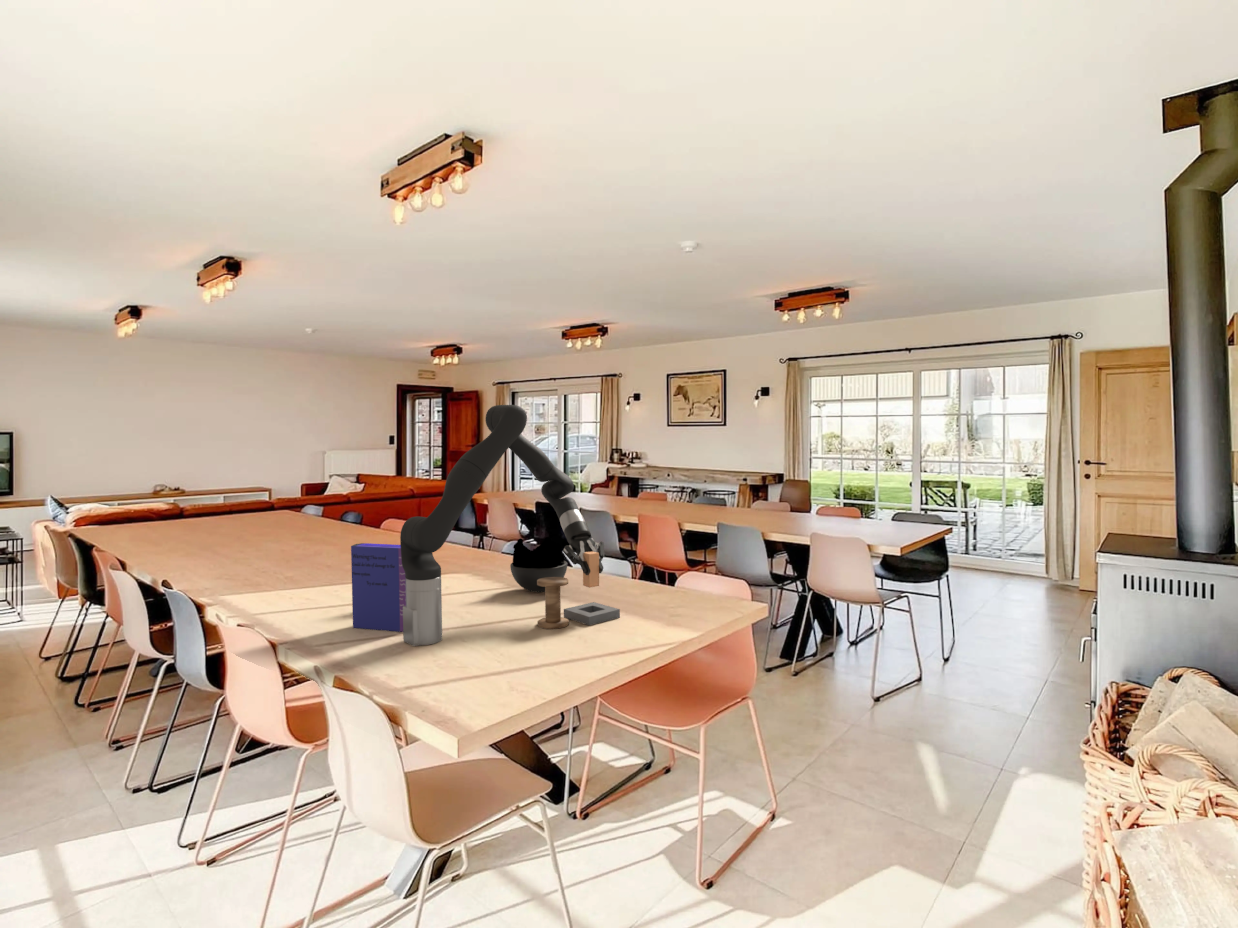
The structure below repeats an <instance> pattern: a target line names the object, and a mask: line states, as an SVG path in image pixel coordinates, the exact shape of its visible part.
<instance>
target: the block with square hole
mask: <svg viewBox="0 0 1238 928" xmlns="http://www.w3.org/2000/svg"><path fill="white" fill-rule="evenodd" d="M620 615H621V609H620V608H616V607H613V606H609V605H606V604H603V603H599V602H595V601H593V602H587V603H584V604H579V605H576V606H571V607H567V608H563V618H566V619H568V620H570V621H574V622H578V623H580V624H584V625H587V626H592V625H596V624H600V623H603V622H604V623H605V622H608V621H611V620H612V621H613V620H615V619H619V618H620V617H621V616H620Z"/></svg>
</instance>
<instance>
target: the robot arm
mask: <svg viewBox="0 0 1238 928" xmlns="http://www.w3.org/2000/svg"><path fill="white" fill-rule="evenodd" d="M527 416H528V415H527V411H526V410H525V409H524V408H523V407H521V406H520V405H516V404H496V405H493V406H491V407H489V409H488V410H487V412H486V413H485V424H486V427H487V429H488V430H489V431H490V434H489V435H488V436H487V437H486V438H484V439H483V440H482V441H480V442H479V443H477V444H476V445H474V446H473V447H472V448H470V449H469V450H467V451H466V452H465V453H464V454H463V455H461V457H460V458H459V459H458V461H457V462H456V463H455V464H454V466H453V467H452V468H451V470H450V471H449V473H448V475H447V477H446V481H445V485H444V489H443V493H442V497H441V499H440V500H439V502H438V504H437V505H436V507H435V508H434V509H433V511H432V512H431V513H430V514H429V515H428V516H427V517H426V516H411V517H409V518H408V519H406V520H405V521H404V523H403V525H402V527H401V529H400V534H399V535H400V536H399V537H400V538H399V539H400V544H399V545H401V560H402V566H403V569H404V571H405V586H406V606H403V632H402V634H403V638H402V639H403V642H404V643H406V644H409V645H410V646H411V647H417V646H428V645H433V644H437V643H439V642H441V641H442V640H443V611H442V608H443V603H442V602H443V601H442V599H443V597H442V567H441V565H440V564H439V562H437V560H436V559H435V558H434V554H433V553H435V552H437V551H438V550H440V549H441V548H442V547H443V545H444V544H445V542H446V541H447V540H448V538H449V536H450V534H451V532H452V531H453V529H454V527H455V525H456V523H457V522H458V519H459V518H460V517H461V515H462V513H463V512H464V510H465V509H466V508H467V506H468V505H469V503H470V501H471V500H472V498H473V497H474V496H475V494H476V493H477V492H478V490H480V488H481V487H482V485H483V484H484V482H485V481H486V479H488V476H489V475H490V473H491V472H492V470H493V469H494V468H495V466H496V465H497V464H498V462H499V461H500V459H501V458H502V456H503V455H504V454H505V452H507V450H508V449H509V450H510V451H511V452H513V453H514V454H515V455H516V456H517V458H518V459H519V460H521V462H522V463H523V464H524V465H525V466H526V468H527V469H528V470H529V471H530V473H531V474H532V475H533V476H534V477H535V479H536V480H537V481H538V482H540V483H544V484H542V485H541V490H540V491H541V494H542V496H543V498H544V499H545V500H546V501H547V502H548V503H549V504H550V506H551V507H552V508H553V510H554V511H555V512H556V515H557V517H558V520H559V522H560V526H561V528H562V529H561V530H562V531H563V533H564V536H565V538H566V541H567V543H568V544H569V545H567V544H566V545H565V546H564V548H563V550H562V552H563V553H564V555H565V556H566V557H567V558H568V560H569V561H570V562H571V563H572V564H573V565H579V566H580V568H581V571H582V573H583V572H584V574H586V575H589V574H590V568H589V566H588V564H587V561H585V556H584V553H585V552H591V551H593V552H597V553H599V574H602V572H603V571H604V565H603V563H602V561H603V558H605V545H604V544H605V543H604V542H603V540H602V541H599V542H597V541H595V540H594V538H592V534H591V531H590V529H589V527H588V524H587V523H586V520H585V518H584V516H583V514H582V513H581V511H580V508H579V506H578V505H577V502H576V501H575V499H574V498H573V497H571V496H568V495H570V494H571V493H573V491H574V487H575V485H574V481H573V480H572V478H571V477H570V476H569V475H568V474H567V473H565V472H563V471H562V470H561V469H559V468H558V467H556V465H554V464H553V462H552V461H551V460H550V458H549V457H548V456H547V455H546V453H545V452H544V451H543V450H542V449H541V448H539V447H538V446H537V445H536V444H534V443H533V442H531V441H530V440H529V439H527V438H526V437H525V436H524V435H523V434H522V433H523V432H524V430H525V428H526V425H527V421H528V417H527ZM566 496H567V497H566Z"/></svg>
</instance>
